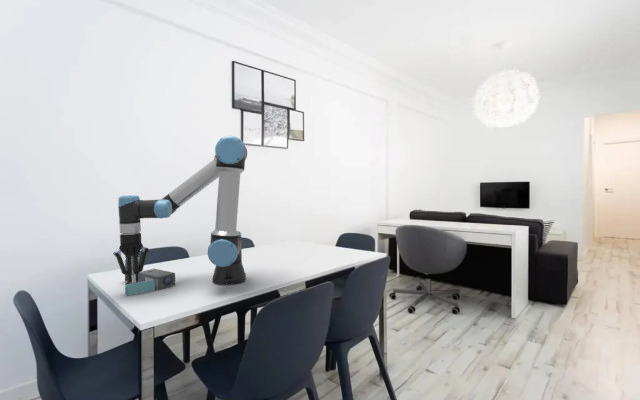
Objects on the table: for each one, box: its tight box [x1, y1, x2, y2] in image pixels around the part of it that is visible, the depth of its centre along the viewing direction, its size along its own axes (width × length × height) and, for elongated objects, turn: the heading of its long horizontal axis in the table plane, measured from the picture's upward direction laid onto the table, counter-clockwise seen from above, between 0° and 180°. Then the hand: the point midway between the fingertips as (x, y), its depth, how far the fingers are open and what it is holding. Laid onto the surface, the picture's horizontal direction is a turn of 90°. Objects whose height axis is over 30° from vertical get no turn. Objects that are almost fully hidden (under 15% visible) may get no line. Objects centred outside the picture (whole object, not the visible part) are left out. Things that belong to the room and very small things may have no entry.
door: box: [124, 279, 158, 296], centre depth 137 cm, size 12×2×4 cm, turn 130°
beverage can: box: [124, 255, 140, 283], centre depth 154 cm, size 6×7×12 cm
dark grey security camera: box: [137, 268, 176, 291], centre depth 149 cm, size 17×8×6 cm, turn 58°
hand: (133, 289), depth 137 cm, fingers closed
